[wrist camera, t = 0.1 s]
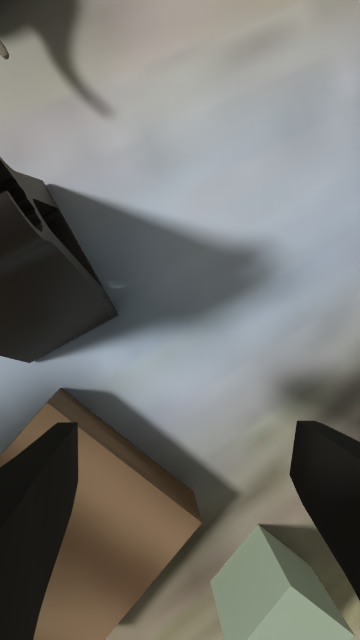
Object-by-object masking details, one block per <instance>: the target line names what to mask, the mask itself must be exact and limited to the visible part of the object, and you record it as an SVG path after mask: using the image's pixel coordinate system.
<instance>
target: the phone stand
mask: <svg viewBox="0 0 360 640" xmlns="http://www.w3.org/2000/svg"><path fill="white" fill-rule="evenodd" d="M117 315H118V313H117V311H116V309H115V308H114V306H113V304H112V302H111V301H110V299H109V297H108V295H107V293H106V292H105V290H104V288H103V286H102V285H101V283H100V281H99V279H98V277H97V276H96V274H95V272H94V270H93V269H92V267H91V265H90V263H89V261H88V260H87V258H86V256H85V254H84V253H83V251H82V249H81V247H80V245H79V244H78V242H77V240H76V238H75V237H74V235H73V233H72V231H71V229H70V228H69V226H68V224H67V222H66V221H65V219H64V217H63V215H62V213H61V212H60V210H59V208H58V206H57V205H56V203H55V201H54V199H53V197H52V196H51V194H50V192H49V190H48V189H47V187H46V185H45V184H44V182H43V181H42V180H39V179H36V178H33V177H31V176H28V175H25V174H22V173H19V172H16V171H14V170H13V169H11V168H10V167H9V166H8V165H7V164H6V163H5V162H4V161H3V160H2V158H1V157H0V356H3V357H7V358H11V359H15V360H20V361H24V362H28V363H31V362H33V361H34V360H36V359H38V358H40V357H42V356H44V355H45V354H47V353H49V352H51V351H53V350H55V349H56V348H58V347H60V346H62V345H64V344H66V343H68V342H69V341H71V340H73V339H75V338H77V337H79V336H80V335H82V334H84V333H86V332H88V331H90V330H92V329H93V328H95V327H97V326H99V325H101V324H103V323H104V322H106V321H108V320H110V319H112V318H114V317H116V316H117Z"/></svg>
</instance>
